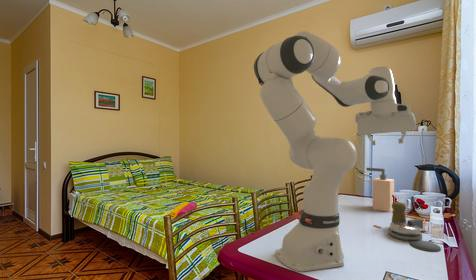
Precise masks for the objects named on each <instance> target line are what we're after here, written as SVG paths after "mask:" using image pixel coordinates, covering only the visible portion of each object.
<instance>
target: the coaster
mask: <svg viewBox="0 0 476 280" xmlns="http://www.w3.org/2000/svg"><path fill="white" fill-rule="evenodd" d="M409 245H410V246H411V247H413V248H415V249H417V250H420V251H424V252H425V251H426V252H431V253H432V252H434V253H435V252H437V253H438V252H440V251H442V248H441V246H439V245H438V244H436V243H434V242H431V241H428V240H427V241H426V240H423V239H422V240H418V241H410V242H409Z"/></svg>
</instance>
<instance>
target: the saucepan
mask: <svg viewBox="0 0 476 280" xmlns="http://www.w3.org/2000/svg"><path fill="white" fill-rule="evenodd" d="M389 225H390V226H389V229H390V230H391V231H392V232H394V233H396V234H399V235H404V236H420V233H421V232H420V231H421V229H423V228H424V220H423V219H422V218H414V219H409V220H406V223H404V222H392V221H391V222H390V223H389Z"/></svg>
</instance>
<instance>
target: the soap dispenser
mask: <svg viewBox="0 0 476 280" xmlns="http://www.w3.org/2000/svg"><path fill="white" fill-rule="evenodd" d="M366 171H371V172H381V174H379V177H376V178H372V180H371V181H372V210H376V211H382V212H386V213H387V212H388V213H391V212H393V208H392V204H393V197H392V194H393V193H394V194H395V179H394V178H387V177H388V176H387V174H385V173H386V170H385V168H377V167H366Z"/></svg>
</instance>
